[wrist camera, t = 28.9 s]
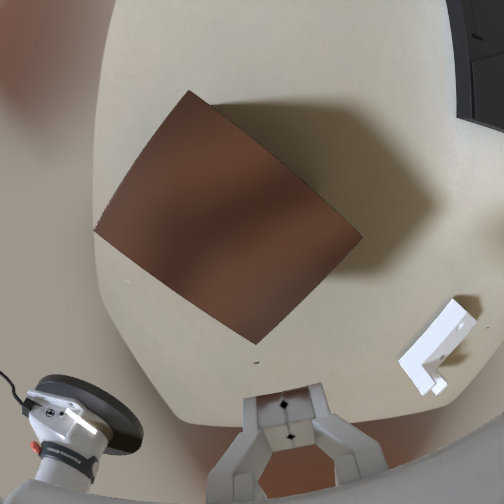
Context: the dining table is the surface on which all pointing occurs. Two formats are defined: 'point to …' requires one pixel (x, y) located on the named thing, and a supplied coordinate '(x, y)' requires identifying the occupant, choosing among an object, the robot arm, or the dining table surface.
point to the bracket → (436, 348)
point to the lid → (224, 221)
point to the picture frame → (479, 60)
